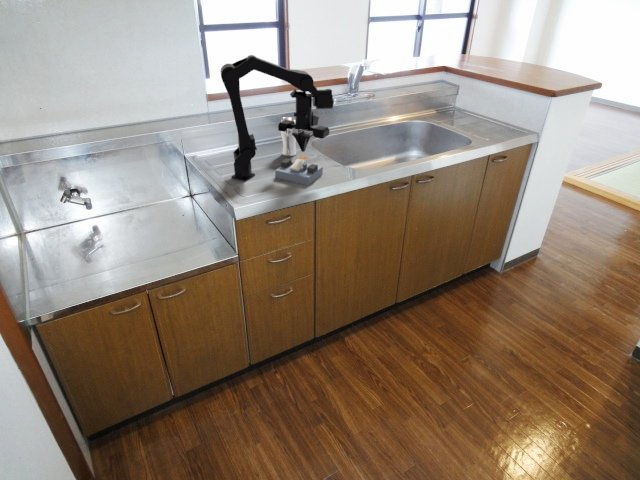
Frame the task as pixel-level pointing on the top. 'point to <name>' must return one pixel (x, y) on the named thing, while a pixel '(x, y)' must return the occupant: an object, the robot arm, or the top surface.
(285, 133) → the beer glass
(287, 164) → the plug left
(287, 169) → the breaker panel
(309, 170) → the plug right
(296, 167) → the breaker paddle
